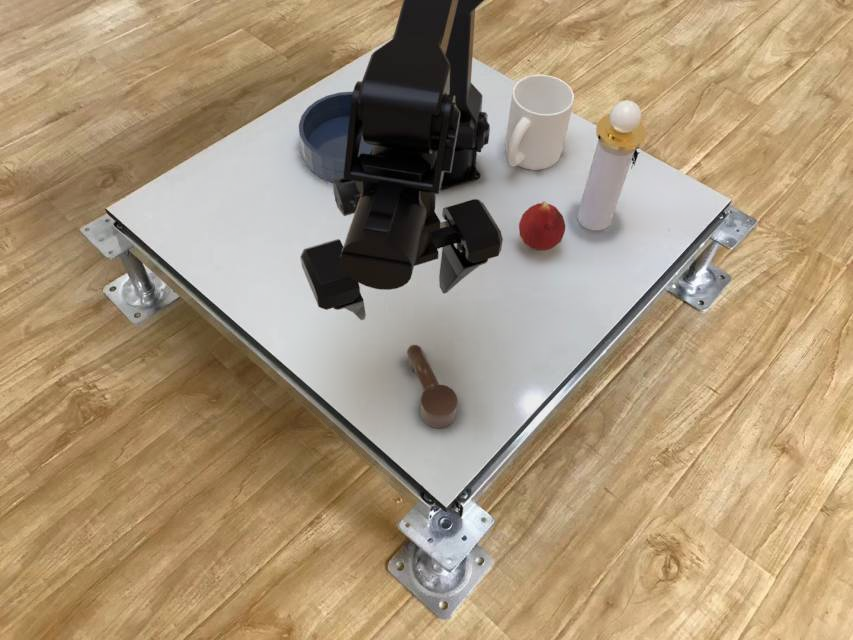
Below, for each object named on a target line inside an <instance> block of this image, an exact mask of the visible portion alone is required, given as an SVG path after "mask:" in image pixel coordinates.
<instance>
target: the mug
mask: <svg viewBox="0 0 853 640" xmlns="http://www.w3.org/2000/svg"><path fill="white" fill-rule="evenodd" d="M574 102H575V94H574V91H573V89H572V88H571V86H570V85H569V84H568V83H567V82H565V81H564V80H563V79H560V78H558V77H555V76H552V75H548V74H532V75H527V76H525V77H522V78H521V79H519V80H518V81H517V82H516V83H515V85H514V86H513V88H512V93H511V100H510V107H509V112H508V119H507V126H506V134H505V141H504V150H505V154H506V157H505V158H506V163H507V165H508V166H510V167H511V168H513V167H517V166H518V167H520V168H522V169H525V170H532V171H539V170H545V169H548V168H550V167H552V166H554V165H556V163H557V162H558V161H559V160H560V158H561V155H562V153H563V150H564V146H565V141H566V136H567V133H568V127H569V124H570V121H571V115H572V110H573V106H574Z"/></svg>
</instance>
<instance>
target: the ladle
mask: <svg viewBox="0 0 853 640" xmlns="http://www.w3.org/2000/svg"><path fill="white" fill-rule="evenodd" d="M406 355H407V365H408V366H409V369H410V371H411V372H415V374H416V376H417V378H418V380H419V382H420V384H421V386H422V388H423V393H422V395H421V397H420V417H421V419H422V421H423V423H425V425H427V426H428V427H429V428H430V427H431V428H433V429H444V428H447V427H449V426H450V425H451V424H452V423H454V421H455V419H456V415H457V408H458V395H457V394H456V392H455V391H454V390H453V389H452V388H451V387H450V386H447V385H445V384H441V383H439V381H438V378H437V377H436V375H435V373H434V371H433V369H432V366H431V365H430V362H429V360H428V358H427V356H426V354H425V353H424V350H423V348H422V347H421V346H420V345H419V344H411V345H409V346H408V348H407V350H406Z"/></svg>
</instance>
